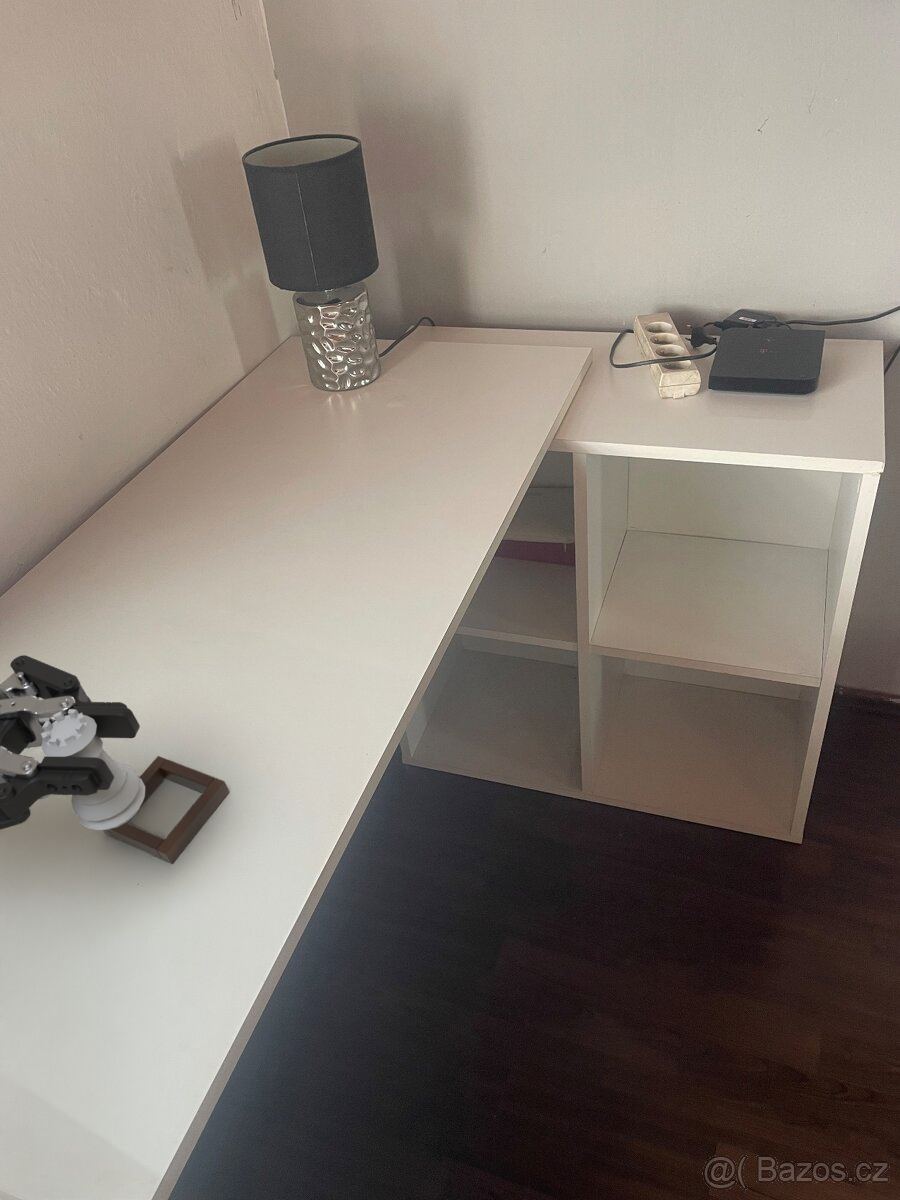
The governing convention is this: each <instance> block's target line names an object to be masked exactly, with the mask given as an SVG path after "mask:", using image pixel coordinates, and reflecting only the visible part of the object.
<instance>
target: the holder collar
mask: <svg viewBox="0 0 900 1200" xmlns="http://www.w3.org/2000/svg"><path fill="white" fill-rule="evenodd" d="M138 777H139V778H141V780H142V781H143V783H144V785H145V798H144V800H143V802H142V804H141V806H140V808H141V807H142V806H143V805H144V803H145V802H146V801H147V800H149V798H150V797H151V796H152V795H153V793H154V792H156V790H157V789H158V787H159V786H161V784H162V783H163V782H164V781H165V779H166V780H169V781H171V782H174V783H176V784H179V785H182V786H183V787H187V788H188V789H191V790H194V791H197V792H199V793H201V794H200V795H199V797H198V798H197V799H196V800H195V801H194V803H193V804H192V805H191V807H190V808H189V809H188V810H187V812H186V813H185V814H184V815H183V817H182V818H181V819H180V820H179V821H178V823H176V825H175V826H174V828H173V829H172V830H171V831H170V833H168V835H167V836H166V837H165V838H163V837H160V836H159V835H157V834H154V833H152V832H149V831H147V830H145V829H142V828H140V827H137V826H136V825H133V824H131V823H129V821H127V822H126V823H124V824H122V825H120V826H119V827H116V828H112V829H108V830H102V831H103V833H104V834H105V835H107V836H109V837H111V838H113V839H115V840H118V841H119V842H122V843H124V844H126V845H129V846H131V847H133V848H135V849H137V850H139V851H142V852H144V853H147V854H148V855H151V856H153V857H155V858H157V859H159V860H162V861H164V862H166V863H169V864H171V865H173V864H175V862H176V861H177V859H178V858H179V857H180V856H181V854H182V853H183V852H184V850H185V849H186V848H187V847H188V845H189V844H190V843H191V842H192V840H193V839H194V838H195V837H196V835H197V834H198V833H199V831H200V830H202V828H203V827H204V825H205V824H206V822H207V821H208V819H209V818H210V817H211V816H212V815H213V814H214V813H215V811H216V810H217V809H218V808H219V806H220V805H221V803H222V802H223V801H224V800H225V799H226V797H227V796H228V795H229V794H230V790H229V788H228V786H227V784H226V782H225V780H223V779H220V778H217V777H215V776H212V775H209V774H207V773H204V772H201V771H199V770H197V769H194V768H191V767H189V766H186V765H183V764H181V763H180V762H179V763H178V762H176V761H174V760H171V759H168V758H165V757H163V756H161V755H157V756H156V758H155V759H154V760H153V761H152V762H151V764H149V766H147V768H146V769H145V770H144V771H143V772H142V774H140V776H138Z"/></svg>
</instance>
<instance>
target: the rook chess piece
mask: <svg viewBox="0 0 900 1200" xmlns="http://www.w3.org/2000/svg"><path fill="white" fill-rule="evenodd" d="M68 714H69V715H67V716H64V715H63V713H62V712H61V711H60V712H58V713H56V714H54V715H53V716H54V717H53V719H54V720H56V721H55V722H54V723H52V724H51V723H50V722H49V721H46V722H45V724H44V725H43V727H42V728H43V730H44V731H45V732H43V733H41V735H42V738H43V741H42V746H40V747H41V749H42V751H43V754H44V755H46V756H51V757H96V758H100V759H102V760H103V761H105V762H106V764H107V766H108V767H109V769H110V770H111V772H112V774H113V775H114V780H113V782H112V784H111V786H110V788H109V789H108V790H98V791H97V793H95V794H91V795H88V796H85V795H71V800H70V803H71V807H72V810H73V812H74V815H75V816H76V817H77V819H78V822H79V824H80V825H82V826H83V827H85V828H86V829H88V830H95V831H103V830H108V829H112V828H116V827H119V826H120V825H122V824H124V823H126V822H127V821H128V822H129V821H130V820H131V819H132V818H133V817H134V816H135V815H136V814H137V813H138V812H139V810H140V808H141V807H142V806H141V804H142V802H143V800H144V798H145V785H144V783H143V781H142V780H141V778H139V777H140V776H138V773H137V771H136V770H135V769H133V768H131V767H130V766H129V765H127V764H125V763H121V762H119V761H117V760H114V759H113V758H112V757H111V756H110V755H109V754H108V753H107V752H106V750H105V749H104V748H103V743H104V742H103V740H102V738H100V737H99V736H97V735H95V734H96V727H97V725H96V723H95V721H94V719H92V718H91V717H89V716H87V715H83V714H82V713H80V714H79V713H78V711H77V710H74V709H69V711H68ZM140 806H141V807H140ZM128 822H127V823H128Z"/></svg>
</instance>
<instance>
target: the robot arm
mask: <svg viewBox="0 0 900 1200" xmlns="http://www.w3.org/2000/svg"><path fill="white" fill-rule="evenodd" d="M10 667H11V669H12V671H13V673H12V674H11V675H10V676H8V677H7V678H6V679H5V680H3V681H2V682H1V683H0V830H3V829H7V828H11V827H14V826H18V825H21V824H23V823H25V822H27V820H28V819H29V818H30V816H31V813H32V812H31V811H32V810H31V807H32V806H33V805H34V804H35V803H37V801H38V800H44V799H46V798H48V797H50V796H51V795H53V796H56V795H57V796H72V795H85V796H88V795H91V794H95V793H97V791H98V790H108V789H109V788H110V786H111V784H112V782H113V780H114V775H113V774H112V772H111V770H110V769H109V767H108V766H107V764H106V762H105V761H103V760H102V759H100V758H96V757H51V756H48V755H44V757H42V760H41V762H39V760H37V758H35V757H33V756H28V755H24V754H22V753H23V752H24V751H25V749H31V748H38V747H39V748H40V747H41V746H42V741H43V738H42V735H41V733H43V732H45V731H44V730H43V728H42V727H43V725H44V724H45V722H46V721H49V722H50V723H51V724H52V723H54V722H55V721H56V719H54V716H53V715H54V714H56V713H58V712H60V711H61V712H62V713H63V715H64V716H67V715H69V714H68V711H69V709H74V710H77V711H78V713H79V714H80V713H82V714H83V715H87V716H89V717H91V718H92V719H94V721H95V723H96V725H97V727H96V734H95V735H97V736H99V737H100V738H101V739H134V738H135V737H137V735H138V732H139V730H140V728H141V725H140V723H139V721H138V720H137V718H136V716H135V714H134V713H133V711H132V710H131V709H130V708H128V706H127V704H125V703H123V702H121V701H112V702H111V701H106V702H105V701H92V700H91V699H90V697H89V696H88V694H87V692H86V691H85V690H84V688H83V686H82V685H81V681H80V680H79V678H78V676H76V675H75V674H72V673H70V672H68V671H65V670H63V669H60V668H57V667H55V666H52V665H50V664H48V663H45V662H43V661H41V660H38V659H35V658H34V657H31V656H28V655H25V654H22V655H19V656H17V657H15V658H13V659H12V660H11V661H10Z"/></svg>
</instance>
